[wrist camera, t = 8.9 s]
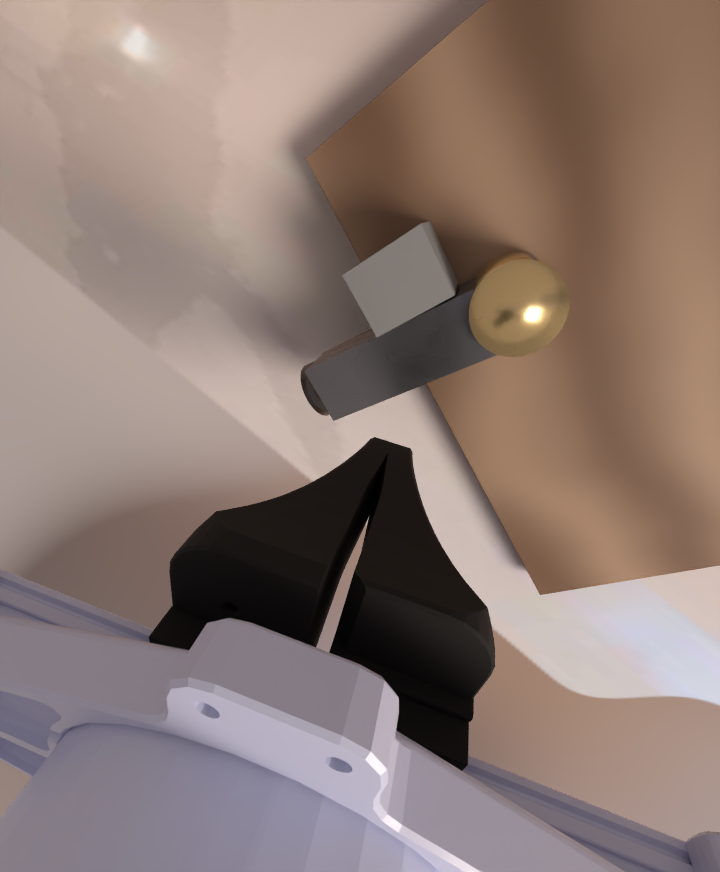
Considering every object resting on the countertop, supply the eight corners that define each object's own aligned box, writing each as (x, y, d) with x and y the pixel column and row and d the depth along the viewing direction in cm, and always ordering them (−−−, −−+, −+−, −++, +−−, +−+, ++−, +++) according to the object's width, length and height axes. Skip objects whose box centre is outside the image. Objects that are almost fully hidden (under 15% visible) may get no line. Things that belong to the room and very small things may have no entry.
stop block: (430, 221, 14) (421, 223, 12) (457, 281, 15) (454, 295, 13) (362, 265, 16) (342, 275, 13) (391, 318, 17) (376, 337, 14)
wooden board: (765, -214, 10) (810, -279, 8) (864, 512, 17) (895, 536, 16) (319, 162, 16) (305, 158, 14) (536, 574, 23) (540, 594, 22)
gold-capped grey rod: (539, 235, 14) (553, 240, 11) (564, 314, 15) (581, 333, 12) (310, 351, 18) (285, 373, 16) (341, 406, 19) (323, 434, 17)
